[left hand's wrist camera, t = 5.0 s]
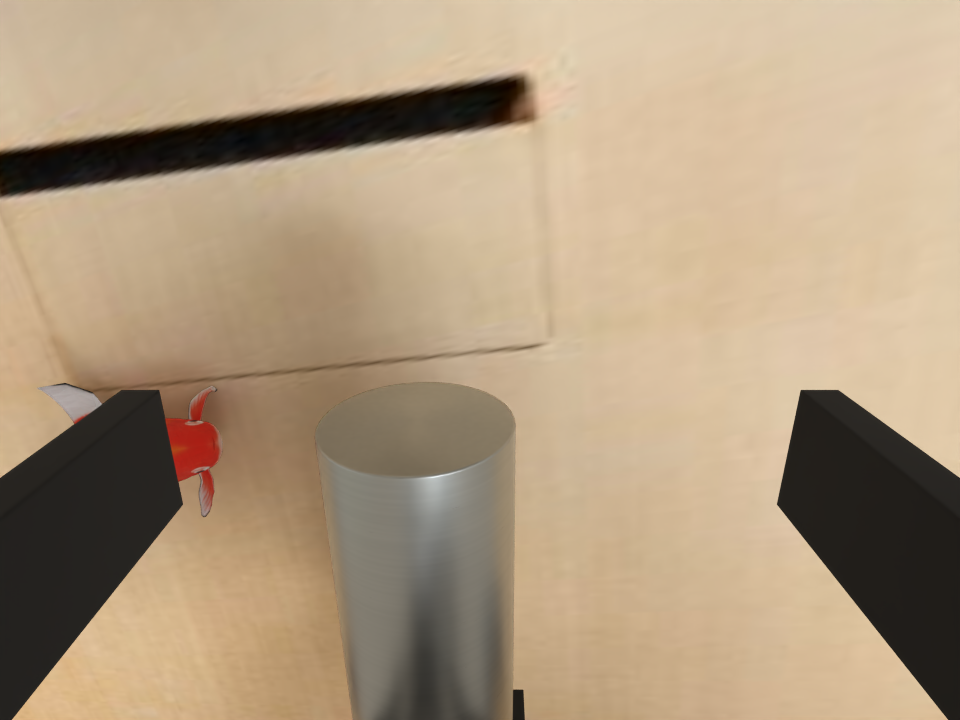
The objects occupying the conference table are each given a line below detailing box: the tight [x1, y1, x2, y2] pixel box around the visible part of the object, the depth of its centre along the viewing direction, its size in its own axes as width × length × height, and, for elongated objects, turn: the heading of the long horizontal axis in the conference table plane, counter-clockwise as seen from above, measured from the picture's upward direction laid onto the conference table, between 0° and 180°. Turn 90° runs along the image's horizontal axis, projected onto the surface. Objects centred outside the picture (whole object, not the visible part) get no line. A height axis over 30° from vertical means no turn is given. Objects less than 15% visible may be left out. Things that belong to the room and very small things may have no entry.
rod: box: [315, 382, 516, 720], centre depth 29 cm, size 25×8×8 cm, turn 1°
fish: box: [37, 383, 223, 517], centre depth 38 cm, size 11×16×10 cm
